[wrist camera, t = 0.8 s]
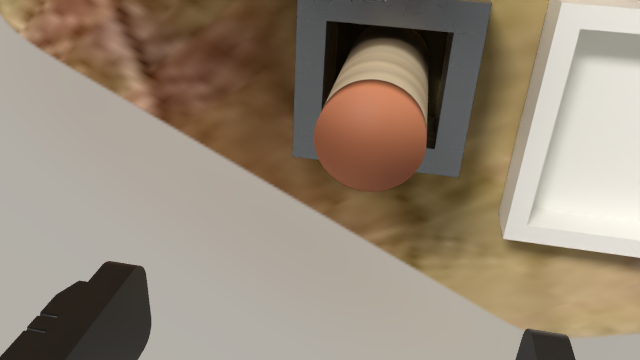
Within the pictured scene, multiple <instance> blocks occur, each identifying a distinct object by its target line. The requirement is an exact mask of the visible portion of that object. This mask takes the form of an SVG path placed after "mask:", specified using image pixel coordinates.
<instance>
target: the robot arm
mask: <svg viewBox="0 0 640 360" xmlns="http://www.w3.org/2000/svg"><path fill="white" fill-rule="evenodd" d="M150 330H151V313H150V305H149V295H148V287H147V279H146V273H145V270H144V268H143V267H142V266H137V265H131V264H125V263H118V262H111V261H108V262H105V263H104V264H103V265H102V266H101V267H100V268H99V270H98V271H97V272H96V273H95V274H94V275H93V277H92V278H91V279H90V280H89V281H88V282H85V281H78V282H76V283H75V284H73V285H71V286H70V287H68V288H66V289H65V290H63V291H61V292H60V293H58V294H57V295H56V296H55V297H54V298H53V299H52V300H51V301H50V302H49V303H48V305H47V306H46V307H45V308H44V309H43V310H42V311H41V313H40V316H37V317H36V318H35V319H34V320H33V321H32V322H31V323H30V324H29V326H28V327H27V330H26V331H23V332H22V333H21V334H20V336H19V337H18V338H17V339H16V340H15V341H14V342H13V343H12V344H11V346H10V347H9V348H8V349H7V350H6V351H5V352H4V353H3V354H2V355H1V357H0V360H138V358H139V357H140V355H141V353H142V352H143V350H144V348H145V346H146V344H147V341H148V339H149V335H150ZM516 360H575V357H574V353H573V350H572V346H571V343H570V340H569V338H568V336H567V335H564V334H558V333H552V332H546V331H539V330H533V329H526V330H525V332H524V334H523V337H522V340H521V343H520V347H519V350H518V353H517V357H516Z"/></svg>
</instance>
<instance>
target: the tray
mask: <svg viewBox="0 0 640 360" xmlns="http://www.w3.org/2000/svg"><path fill="white" fill-rule="evenodd" d="M498 215H499V220H500V226H501V231H502V236H503V239H508V240H515V241H522V242H530V243H537V244H544V245H551V246H559V247H566V248H573V249H580V250H588V251H595V252H602V253H609V254H617V255H624V256H631V257H638V258H640V0H549V4H548V8H547V12H546V16H545V21H544V25H543V29H542V33H541V37H540V42H539V46H538V50H537V54H536V58H535V62H534V67H533V71H532V75H531V79H530V83H529V88H528V92H527V96H526V100H525V104H524V109H523V113H522V117H521V121H520V125H519V129H518V134H517V138H516V142H515V146H514V150H513V155H512V159H511V163H510V167H509V171H508V175H507V180H506V184H505V188H504V192H503V196H502V201H501V205H500V209H499V213H498Z"/></svg>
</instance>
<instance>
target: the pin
mask: <svg viewBox="0 0 640 360" xmlns="http://www.w3.org/2000/svg"><path fill="white" fill-rule="evenodd" d="M428 78H429V54H428V50H427V47H426V44H425V42H424V40H423V39H422V38H421V36H420V35H419V34H418V33H417V32H416V31H415V30H414V29H410V28H400V27H389V26H378V25H372V26H370V27H369V28H367V29H366V30H364V31H363V32H362V33H361V34H360V35H359V36H358V38H357V39H356V41H355V42H354V44H353V46H352V48H351V50H350V53H349V55H348V57H347V59H346V61H345V63H344V65H343V67H342V69H341V71H340V74H339V76H338V78H337V80H336V82H335V84H334V86H333V88H332V90H331V92H330V95H329V97H328V99H327V101H326V103H325V105H324V107H323V109H322V111H321V113H320V116H319V118H318V120H317V122H316V126H315V130H314V146H315V150H316V154H317V156H318V159H319V161H320V163H321V164H322V166H323V167H324V169H325V170H326V171H327V172H328V173H329V174H330V175H331V176H332V177H333V178H334V179H336V180H337V181H338V182H340V183H342V184H343V185H346V186H348V187H350V188H353V189H356V190H361V191H369V192H375V191H384V190H388V189H391V188H394V187H396V186H399V185H400V184H402V183H404V182H405V181H407V180H408V179H409V178H410V177H411V176H412V175H413V174H414V173H415V172H416V171H417V169H418V168H419V166H420V165H421V163H422V161H423V158H424V155H425V151H426V142H427V110H428Z"/></svg>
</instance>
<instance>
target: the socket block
mask: <svg viewBox="0 0 640 360" xmlns="http://www.w3.org/2000/svg"><path fill="white" fill-rule="evenodd" d="M491 6H492V2H491V0H297V29H296V61H295V93H294V125H293V157H300V158H308V159H316V160H319V159H318V156H317V154H316V150H315V146H314V130H315V126H316V122H317V120H318V118H319V116H320V113H321V111H322V109H323V107H324V105H325V103H326V101H327V99H328V97H329V95H330V92H331V90H332V88H333V86H334V84H335V68H336V53H337V38H338V23H339V22H346V23H357V24H367V25H378V26H389V27H400V28H410V29H421V30H432V31H442V32H448V37H447V43H446V50H445V56H444V62H443V68H442V75H441V81H440V87H439V94H438V100H437V106H436V112H435V117H429V116H427V142H426V151H425V155H424V158H423V161H422V163H421V165H420V166H419V168H418V169H417V171H416V172H419V173H427V174H435V175H443V176H451V177H459V173H460V167H461V162H462V157H463V152H464V146H465V141H466V136H467V131H468V126H469V120H470V115H471V110H472V105H473V100H474V94H475V89H476V84H477V79H478V74H479V68H480V63H481V58H482V53H483V48H484V42H485V37H486V32H487V27H488V22H489V16H490V11H491Z"/></svg>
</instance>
